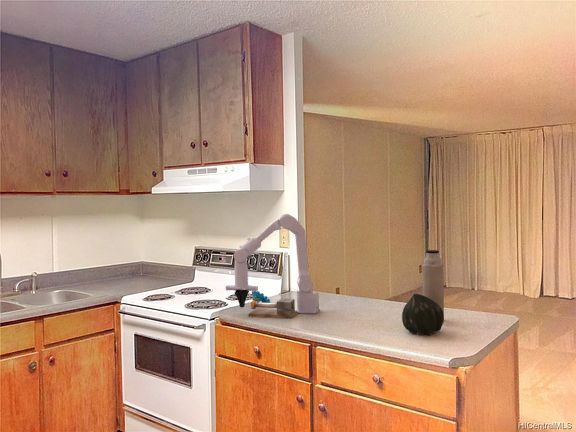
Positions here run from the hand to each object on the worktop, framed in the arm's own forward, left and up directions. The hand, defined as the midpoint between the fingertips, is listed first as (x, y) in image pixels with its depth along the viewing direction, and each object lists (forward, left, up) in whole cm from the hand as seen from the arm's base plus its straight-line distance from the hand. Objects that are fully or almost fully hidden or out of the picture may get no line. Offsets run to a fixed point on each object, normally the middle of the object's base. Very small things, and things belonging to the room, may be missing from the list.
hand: (242, 306), depth 208 cm
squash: (-77, +15, -3) cm, 78 cm away
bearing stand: (-14, 0, -3) cm, 14 cm away
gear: (-2, -17, -3) cm, 18 cm away
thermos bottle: (-81, -3, -3) cm, 81 cm away
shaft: (-11, 0, -1) cm, 11 cm away
